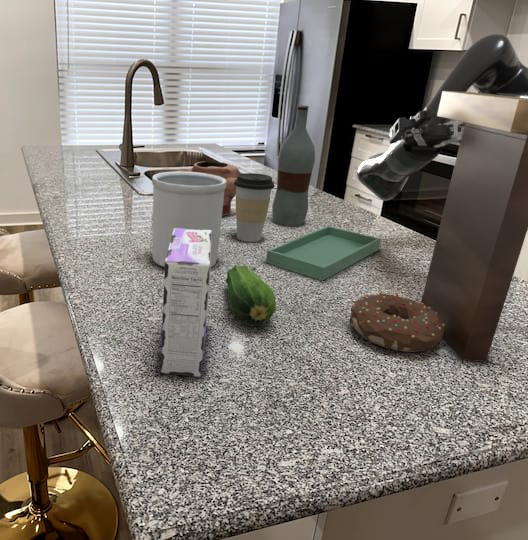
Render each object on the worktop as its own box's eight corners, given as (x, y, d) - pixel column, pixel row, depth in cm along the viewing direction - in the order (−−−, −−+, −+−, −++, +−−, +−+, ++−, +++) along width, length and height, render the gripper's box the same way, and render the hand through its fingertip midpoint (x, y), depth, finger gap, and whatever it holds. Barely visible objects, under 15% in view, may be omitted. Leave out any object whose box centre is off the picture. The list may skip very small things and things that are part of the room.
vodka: (304, 218, 142) (320, 105, 131) (307, 228, 133) (324, 108, 122) (270, 216, 143) (283, 103, 132) (270, 225, 135) (284, 106, 124)
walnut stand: (438, 312, 89) (488, 122, 77) (486, 361, 75) (557, 136, 63) (418, 311, 90) (465, 121, 78) (461, 359, 75) (527, 135, 63)
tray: (326, 236, 128) (328, 225, 126) (378, 250, 119) (380, 238, 118) (265, 262, 109) (267, 250, 108) (322, 281, 101) (324, 267, 100)
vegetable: (248, 283, 77) (233, 241, 95) (223, 320, 79) (213, 273, 98) (289, 304, 78) (266, 259, 96) (263, 341, 80) (246, 290, 99)
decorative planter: (171, 217, 138) (173, 166, 133) (170, 206, 149) (172, 157, 144) (245, 220, 139) (250, 168, 133) (238, 208, 150) (242, 160, 145)
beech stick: (463, 117, 86) (469, 92, 84) (545, 133, 65) (555, 100, 64) (436, 116, 86) (442, 91, 84) (510, 132, 66) (519, 99, 64)
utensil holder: (171, 243, 118) (174, 167, 112) (230, 256, 112) (238, 176, 105) (136, 262, 106) (137, 178, 100) (200, 278, 100) (206, 189, 93)
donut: (334, 315, 87) (339, 288, 85) (411, 315, 88) (418, 288, 86) (371, 361, 74) (378, 330, 72) (461, 360, 75) (470, 330, 73)
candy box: (169, 325, 81) (173, 226, 75) (206, 328, 81) (213, 228, 75) (158, 374, 68) (162, 259, 62) (202, 378, 68) (211, 262, 62)
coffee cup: (242, 246, 118) (248, 181, 113) (222, 234, 126) (226, 173, 121) (276, 242, 122) (283, 179, 116) (254, 230, 130) (260, 171, 124)
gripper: (375, 130, 101) (411, 90, 85) (449, 134, 100) (499, 94, 84) (375, 167, 100) (411, 133, 84) (449, 170, 99) (500, 137, 83)
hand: (455, 113), depth 84 cm, fingers open, 8 cm apart
